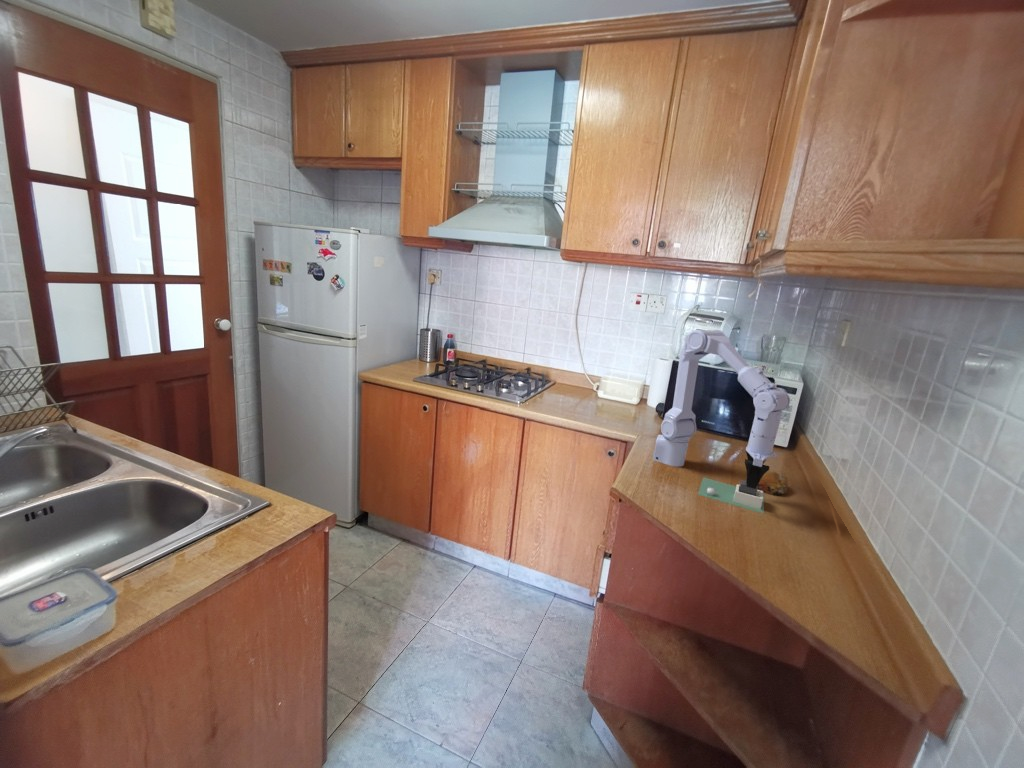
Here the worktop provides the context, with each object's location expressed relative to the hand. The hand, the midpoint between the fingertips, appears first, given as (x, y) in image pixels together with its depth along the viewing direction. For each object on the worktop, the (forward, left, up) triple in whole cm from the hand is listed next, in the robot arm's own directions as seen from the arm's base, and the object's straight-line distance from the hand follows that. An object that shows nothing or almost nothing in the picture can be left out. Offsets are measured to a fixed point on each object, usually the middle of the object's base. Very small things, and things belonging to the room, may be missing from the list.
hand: (751, 481), depth 119 cm
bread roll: (+5, +14, -7) cm, 17 cm away
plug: (0, 0, -6) cm, 6 cm away
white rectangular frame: (0, 0, -6) cm, 6 cm away
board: (-4, +2, -7) cm, 8 cm away
